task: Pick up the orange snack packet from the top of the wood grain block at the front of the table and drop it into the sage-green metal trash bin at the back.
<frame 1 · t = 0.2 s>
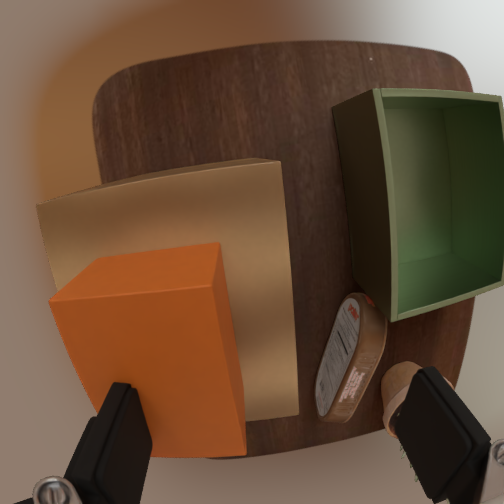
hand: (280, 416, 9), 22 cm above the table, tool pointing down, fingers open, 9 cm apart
potted plant: (397, 377, 37), on the table
tin: (334, 339, 34), on the table
wood grain block: (208, 228, 30), on the table
packet: (173, 330, 13), point 18 cm above the table, touching gripper, wood grain block
trash bin: (403, 187, 29), on the table
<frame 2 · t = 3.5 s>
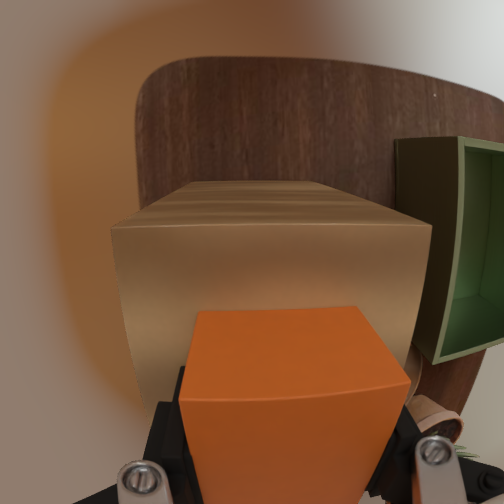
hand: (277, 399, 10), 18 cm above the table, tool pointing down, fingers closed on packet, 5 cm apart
potted plant: (409, 409, 35), on the table
tin: (359, 371, 33), on the table
wood grain block: (252, 250, 28), on the table
packet: (276, 394, 11), point 18 cm above the table, touching gripper, wood grain block
trash bin: (447, 228, 28), on the table
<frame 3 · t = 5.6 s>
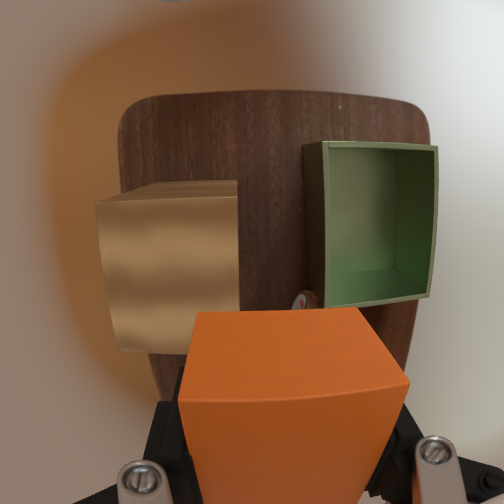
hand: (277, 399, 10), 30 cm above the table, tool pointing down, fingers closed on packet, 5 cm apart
tin: (289, 327, 44), on the table
wood grain block: (197, 228, 39), on the table
packet: (275, 394, 11), point 30 cm above the table, touching gripper
trash bin: (354, 211, 39), on the table
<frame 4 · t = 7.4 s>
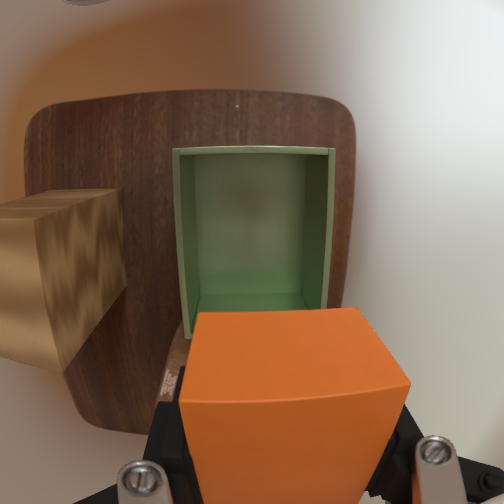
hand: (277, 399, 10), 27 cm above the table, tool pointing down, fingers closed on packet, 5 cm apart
tin: (183, 345, 40), on the table
wood grain block: (87, 237, 35), on the table
packet: (276, 394, 11), point 27 cm above the table, touching gripper
trash bin: (250, 226, 36), on the table
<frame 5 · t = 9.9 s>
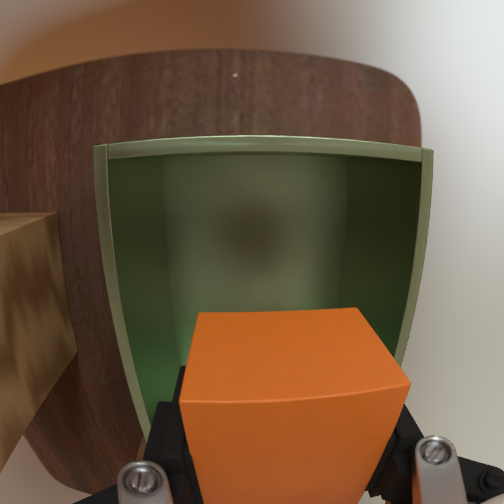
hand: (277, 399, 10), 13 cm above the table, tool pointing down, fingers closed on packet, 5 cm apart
wood grain block: (20, 282, 22), on the table
packet: (276, 394, 11), point 12 cm above the table, touching gripper
trash bin: (256, 273, 22), on the table
when the fingers open (8 cm above the table, at t = 11.6 s): packet drops 7 cm, resting on trash bin.
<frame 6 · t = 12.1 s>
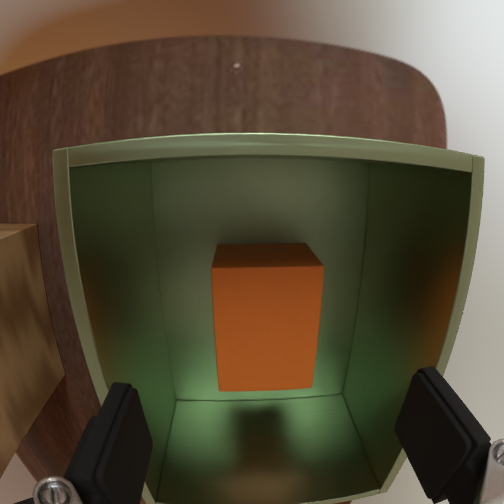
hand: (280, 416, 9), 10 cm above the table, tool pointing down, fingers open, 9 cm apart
wood grain block: (2, 299, 19), on the table
packet: (261, 301, 19), point 1 cm above the table, touching trash bin
trash bin: (261, 295, 19), on the table
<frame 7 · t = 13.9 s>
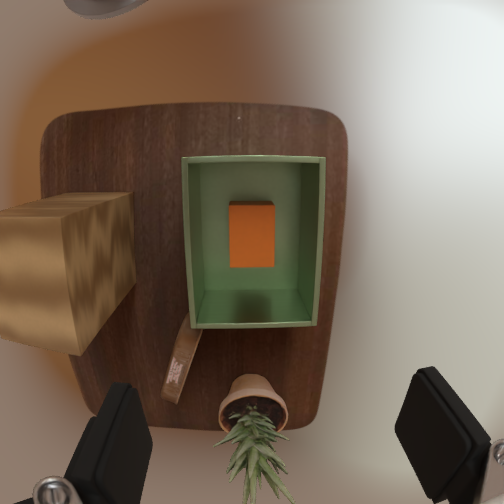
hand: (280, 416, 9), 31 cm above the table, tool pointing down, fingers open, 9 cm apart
potted plant: (249, 386, 46), on the table
tin: (188, 338, 44), on the table
wood grain block: (100, 237, 39), on the table
packet: (250, 229, 39), point 1 cm above the table, touching trash bin
trash bin: (250, 227, 39), on the table
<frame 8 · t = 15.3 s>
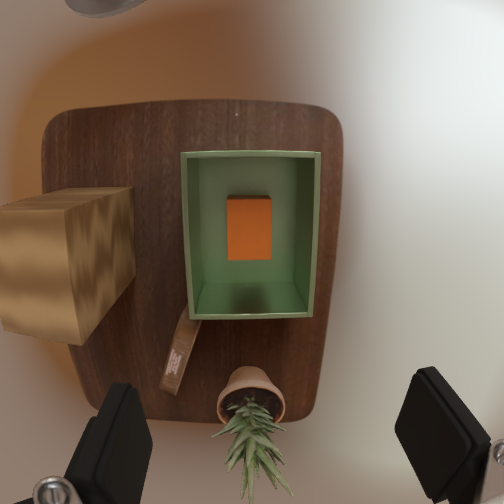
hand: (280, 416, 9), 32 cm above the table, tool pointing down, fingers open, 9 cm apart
potted plant: (247, 378, 48), on the table
tin: (186, 331, 45), on the table
wood grain block: (100, 231, 40), on the table
packet: (248, 223, 40), point 1 cm above the table, touching trash bin
trash bin: (248, 221, 40), on the table
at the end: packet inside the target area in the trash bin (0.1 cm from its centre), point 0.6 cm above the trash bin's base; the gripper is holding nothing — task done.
